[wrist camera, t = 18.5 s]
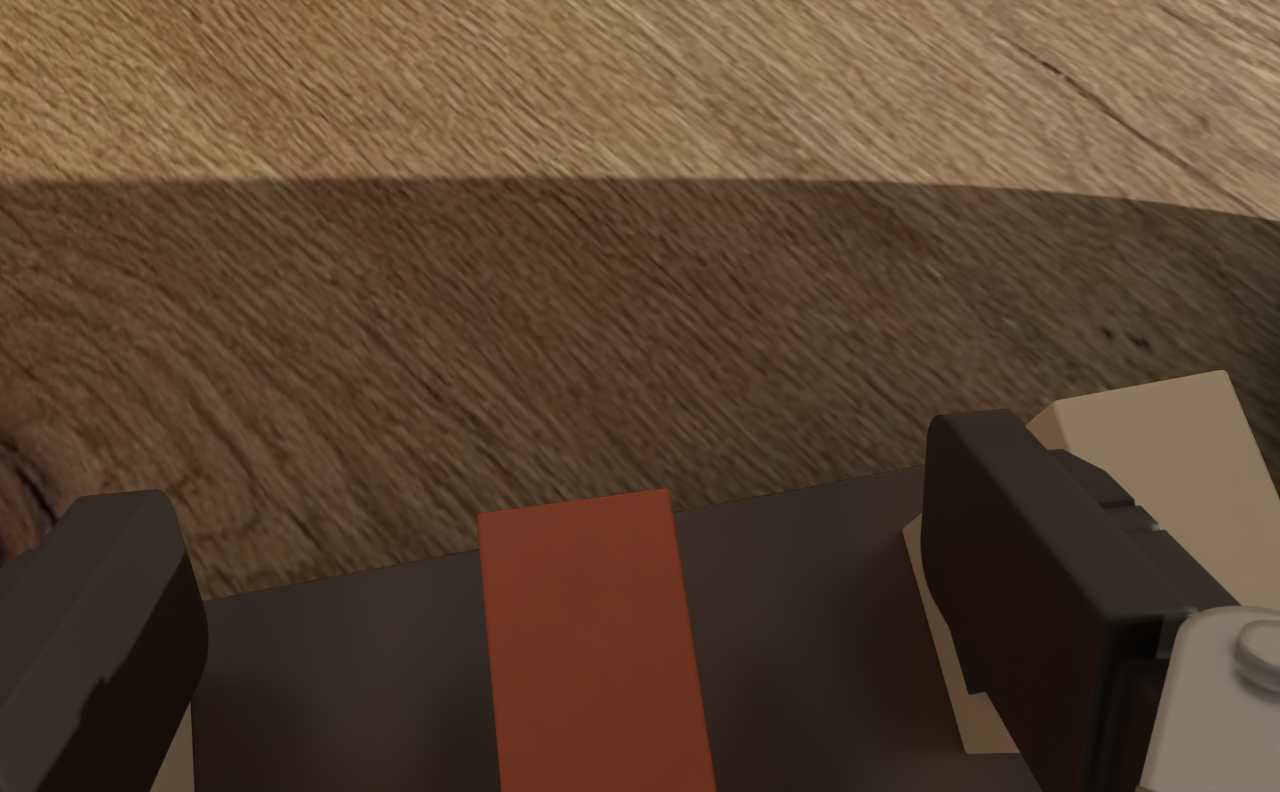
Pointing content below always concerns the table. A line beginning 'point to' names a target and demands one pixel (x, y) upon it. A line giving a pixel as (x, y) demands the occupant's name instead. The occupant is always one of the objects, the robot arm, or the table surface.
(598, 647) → the tall orange-red rectangular prism
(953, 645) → the tiles
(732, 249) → the table surface
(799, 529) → the rack
